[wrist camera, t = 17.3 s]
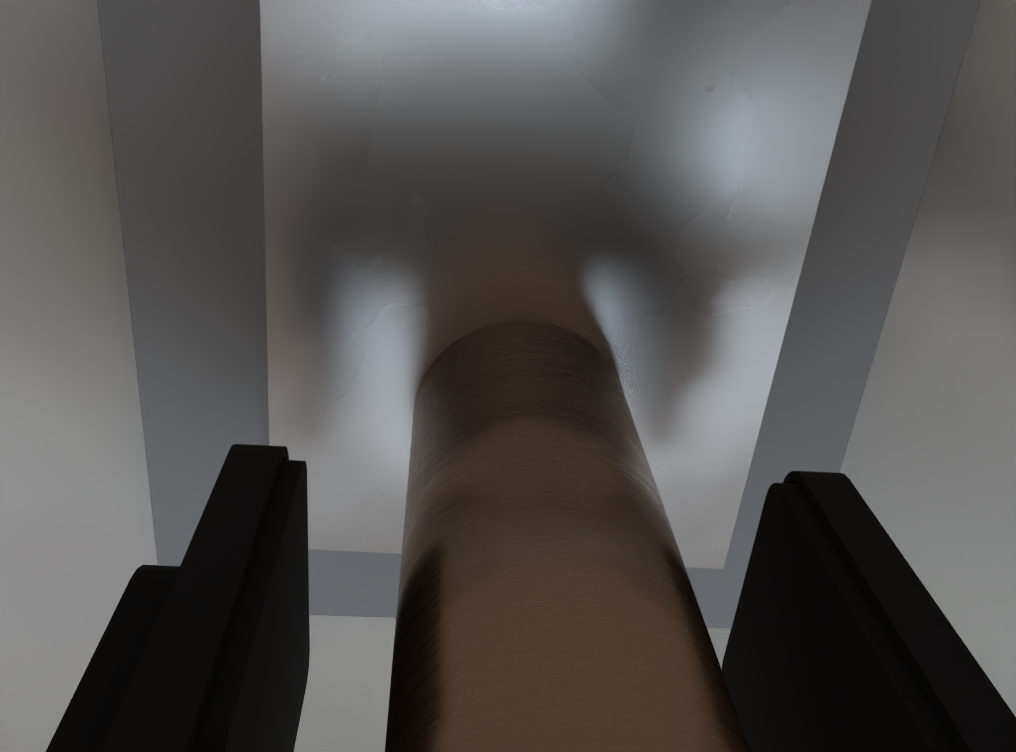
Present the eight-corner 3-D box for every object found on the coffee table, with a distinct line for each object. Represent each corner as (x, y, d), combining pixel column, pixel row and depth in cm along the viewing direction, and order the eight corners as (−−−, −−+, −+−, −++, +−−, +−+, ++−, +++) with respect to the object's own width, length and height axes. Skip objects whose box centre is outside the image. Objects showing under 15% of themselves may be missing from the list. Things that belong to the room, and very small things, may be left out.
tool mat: (1060, -330, 10) (1081, -339, 10) (784, 614, 17) (791, 630, 16) (62, -460, 9) (46, -475, 9) (169, 594, 16) (162, 610, 15)
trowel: (876, -158, 11) (1719, -301, 4) (707, 530, 15) (931, 1076, 8) (272, -233, 10) (-178, -600, 3) (282, 508, 14) (116, 1081, 7)
